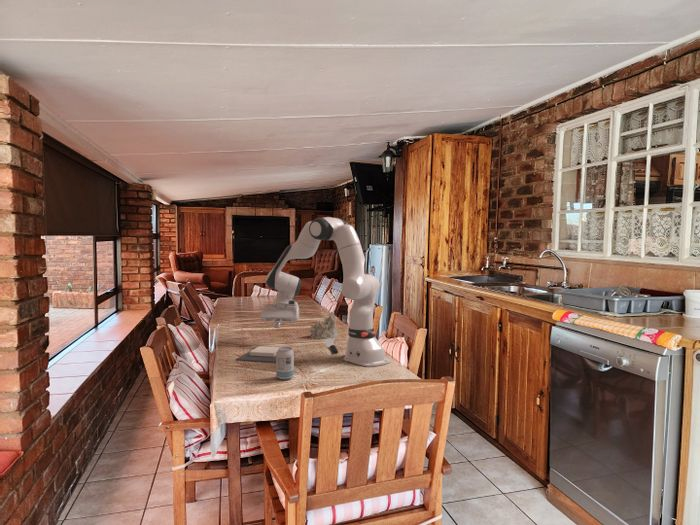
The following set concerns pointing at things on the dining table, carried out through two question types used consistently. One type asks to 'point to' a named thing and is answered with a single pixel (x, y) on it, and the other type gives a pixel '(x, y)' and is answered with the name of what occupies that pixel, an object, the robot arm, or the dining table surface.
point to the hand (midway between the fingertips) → (276, 327)
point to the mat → (256, 358)
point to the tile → (264, 351)
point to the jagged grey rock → (324, 328)
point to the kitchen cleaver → (331, 345)
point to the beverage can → (284, 363)
